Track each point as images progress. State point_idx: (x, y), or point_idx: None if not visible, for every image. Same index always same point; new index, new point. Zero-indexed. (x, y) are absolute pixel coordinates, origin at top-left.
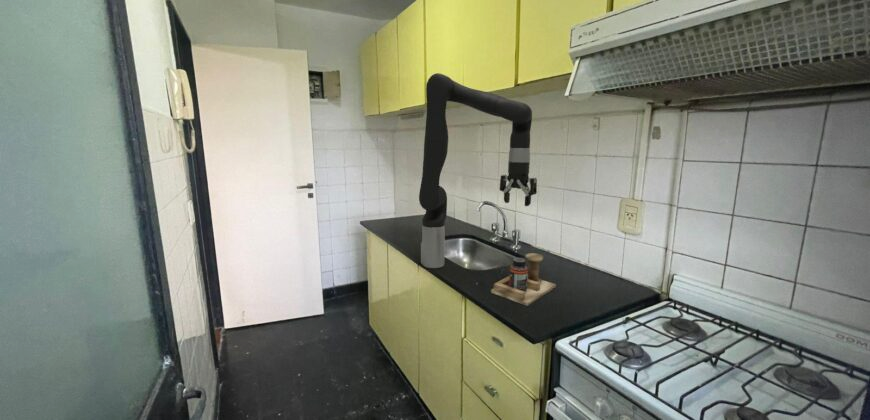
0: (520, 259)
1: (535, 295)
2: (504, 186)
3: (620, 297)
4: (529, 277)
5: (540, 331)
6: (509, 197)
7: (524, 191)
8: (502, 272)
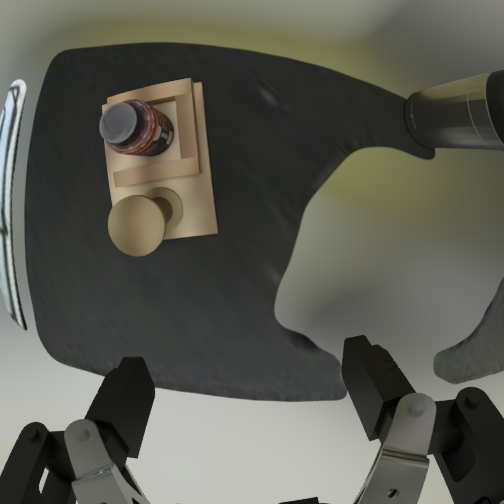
0: (114, 126)
1: (110, 150)
2: (454, 459)
3: (44, 296)
4: (158, 198)
5: (52, 68)
6: (355, 405)
7: (101, 465)
8: (272, 211)
